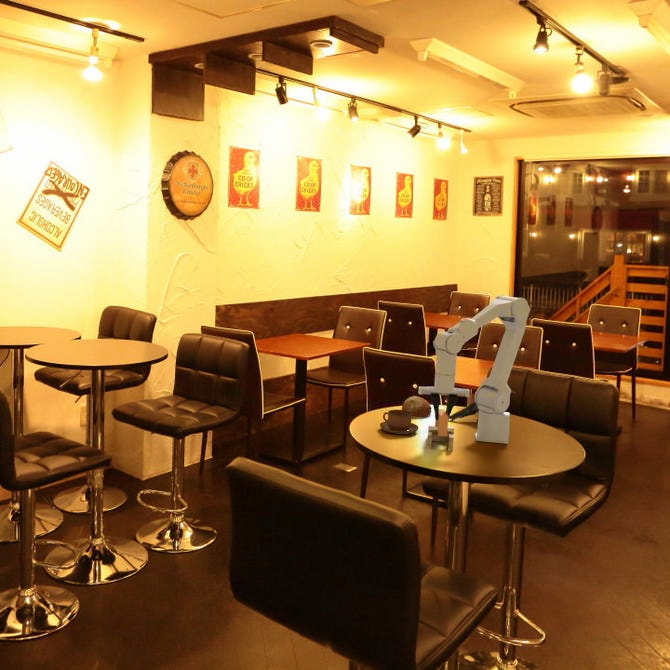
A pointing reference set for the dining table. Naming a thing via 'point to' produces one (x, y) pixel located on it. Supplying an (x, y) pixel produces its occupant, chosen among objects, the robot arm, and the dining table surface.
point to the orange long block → (442, 423)
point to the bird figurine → (468, 410)
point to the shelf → (434, 436)
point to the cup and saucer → (398, 422)
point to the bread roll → (417, 406)
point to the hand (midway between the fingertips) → (441, 419)
